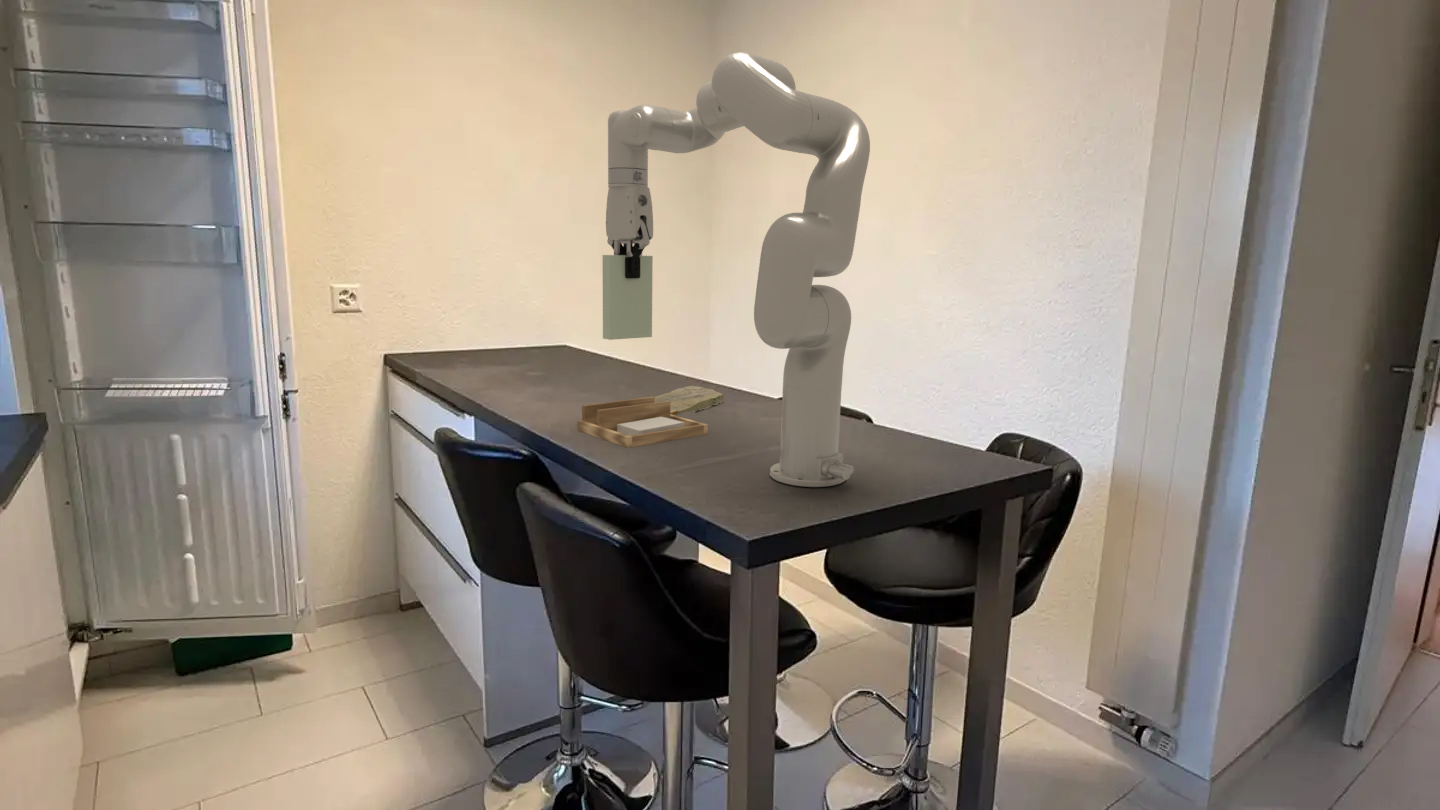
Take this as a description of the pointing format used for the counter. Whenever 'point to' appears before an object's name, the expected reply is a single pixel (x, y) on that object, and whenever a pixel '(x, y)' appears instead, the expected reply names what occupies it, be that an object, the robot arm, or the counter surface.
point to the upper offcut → (648, 426)
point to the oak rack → (608, 414)
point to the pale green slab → (626, 299)
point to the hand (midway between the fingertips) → (627, 277)
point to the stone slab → (690, 399)
